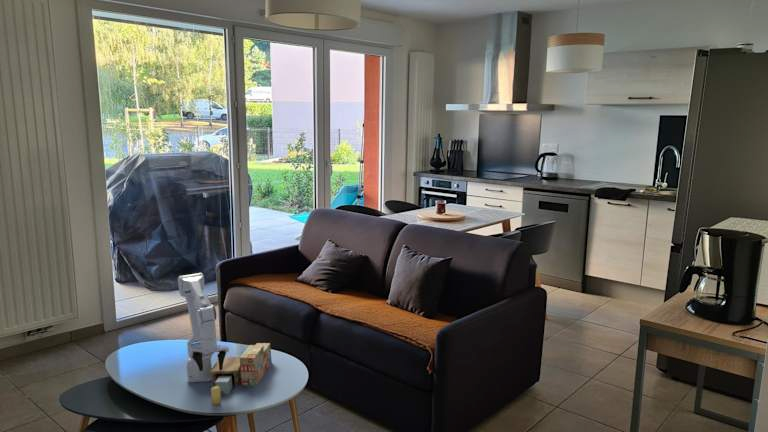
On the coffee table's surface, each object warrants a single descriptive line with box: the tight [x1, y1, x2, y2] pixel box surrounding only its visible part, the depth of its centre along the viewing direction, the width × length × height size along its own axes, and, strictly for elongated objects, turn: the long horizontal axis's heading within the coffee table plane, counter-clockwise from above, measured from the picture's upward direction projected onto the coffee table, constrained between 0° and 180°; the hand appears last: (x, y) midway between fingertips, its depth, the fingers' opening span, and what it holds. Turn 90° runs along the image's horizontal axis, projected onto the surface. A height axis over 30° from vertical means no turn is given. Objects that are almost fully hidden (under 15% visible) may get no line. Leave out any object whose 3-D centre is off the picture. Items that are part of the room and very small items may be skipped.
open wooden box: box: [210, 356, 241, 387], centre depth 221 cm, size 11×13×7 cm
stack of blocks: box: [239, 342, 273, 386], centre depth 226 cm, size 21×6×12 cm, turn 175°
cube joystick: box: [210, 375, 233, 406], centre depth 208 cm, size 5×14×6 cm, turn 179°
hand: (211, 369), depth 209 cm, fingers open, 7 cm apart
